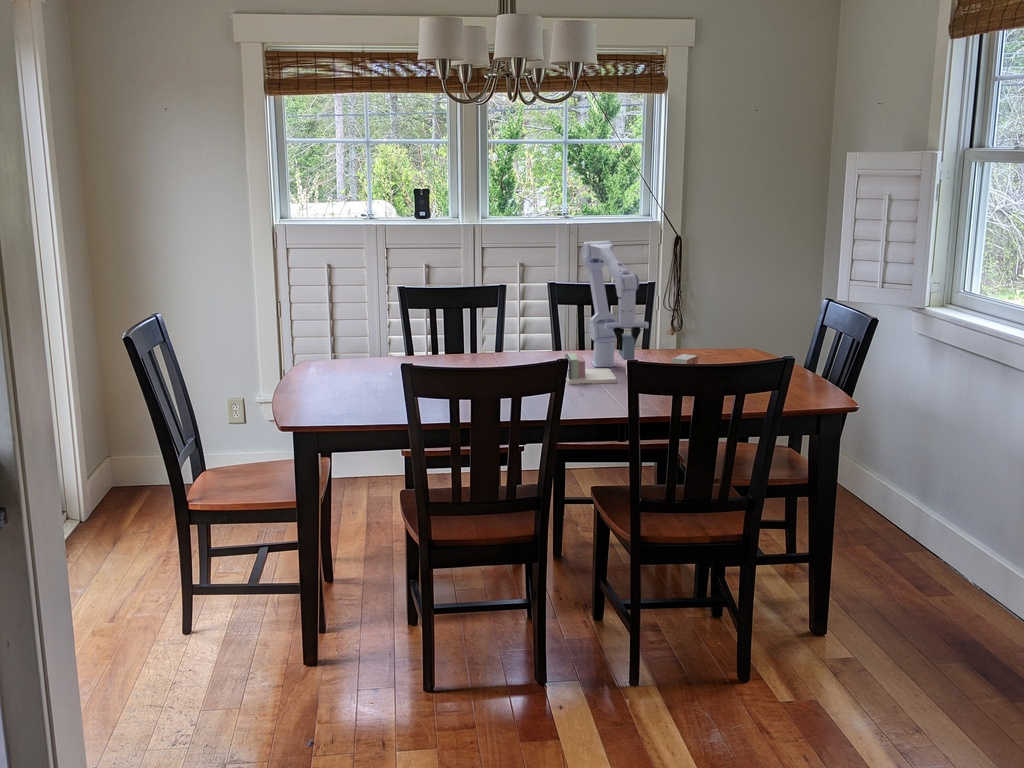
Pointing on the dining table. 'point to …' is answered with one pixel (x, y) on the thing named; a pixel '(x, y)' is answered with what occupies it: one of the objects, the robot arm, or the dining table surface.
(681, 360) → the small box
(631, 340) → the slate book
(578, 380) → the shelf board
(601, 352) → the robot arm
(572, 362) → the books
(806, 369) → the dining table surface
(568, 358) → the bookend
